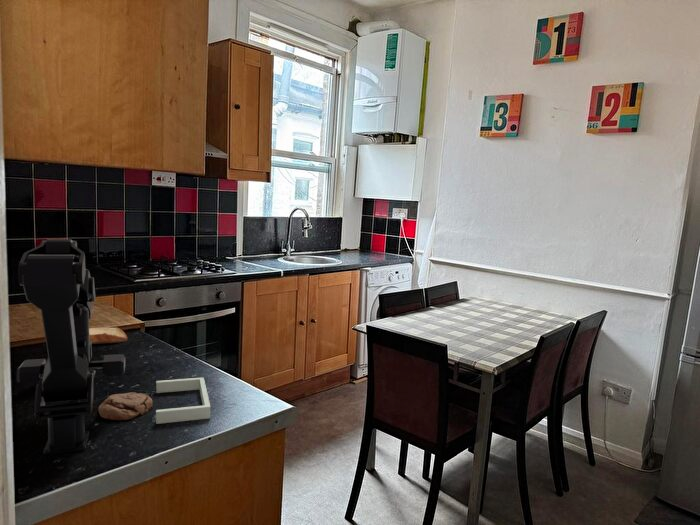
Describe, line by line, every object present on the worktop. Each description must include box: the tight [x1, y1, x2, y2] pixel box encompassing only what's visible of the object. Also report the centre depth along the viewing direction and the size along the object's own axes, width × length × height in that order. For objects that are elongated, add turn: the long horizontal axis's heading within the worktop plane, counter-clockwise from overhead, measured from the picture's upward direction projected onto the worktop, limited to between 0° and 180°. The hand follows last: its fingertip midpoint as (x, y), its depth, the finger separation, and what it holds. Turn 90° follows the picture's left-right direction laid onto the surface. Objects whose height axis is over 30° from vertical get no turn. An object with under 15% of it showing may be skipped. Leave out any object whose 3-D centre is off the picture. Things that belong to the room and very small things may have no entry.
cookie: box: [97, 391, 154, 421], centre depth 106 cm, size 10×11×3 cm
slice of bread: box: [89, 326, 129, 345], centre depth 151 cm, size 18×18×4 cm
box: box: [155, 377, 211, 425], centre depth 110 cm, size 17×10×2 cm, turn 21°
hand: (74, 407), depth 102 cm, fingers closed
